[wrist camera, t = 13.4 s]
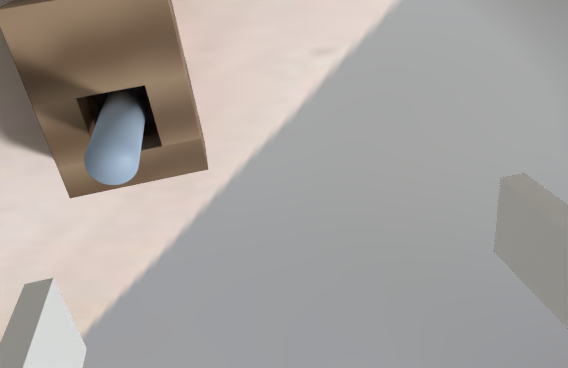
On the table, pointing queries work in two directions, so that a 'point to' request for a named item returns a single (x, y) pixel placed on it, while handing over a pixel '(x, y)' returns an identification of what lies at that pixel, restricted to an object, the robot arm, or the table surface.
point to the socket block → (105, 80)
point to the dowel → (117, 137)
